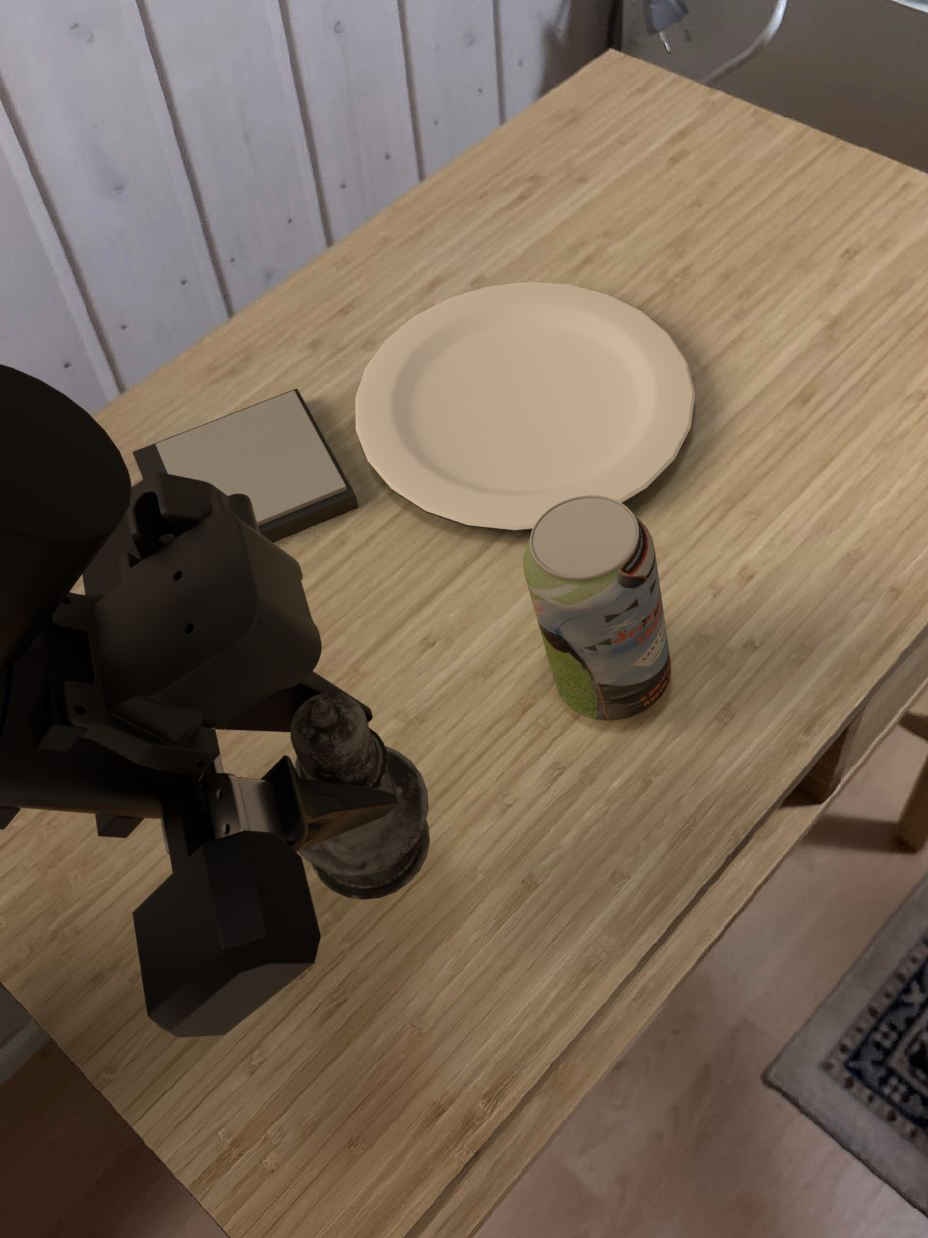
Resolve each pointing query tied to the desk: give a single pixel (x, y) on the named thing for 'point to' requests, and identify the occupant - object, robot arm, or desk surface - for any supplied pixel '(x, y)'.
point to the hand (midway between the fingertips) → (379, 762)
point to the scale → (261, 463)
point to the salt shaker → (356, 755)
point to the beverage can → (599, 607)
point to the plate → (523, 404)
